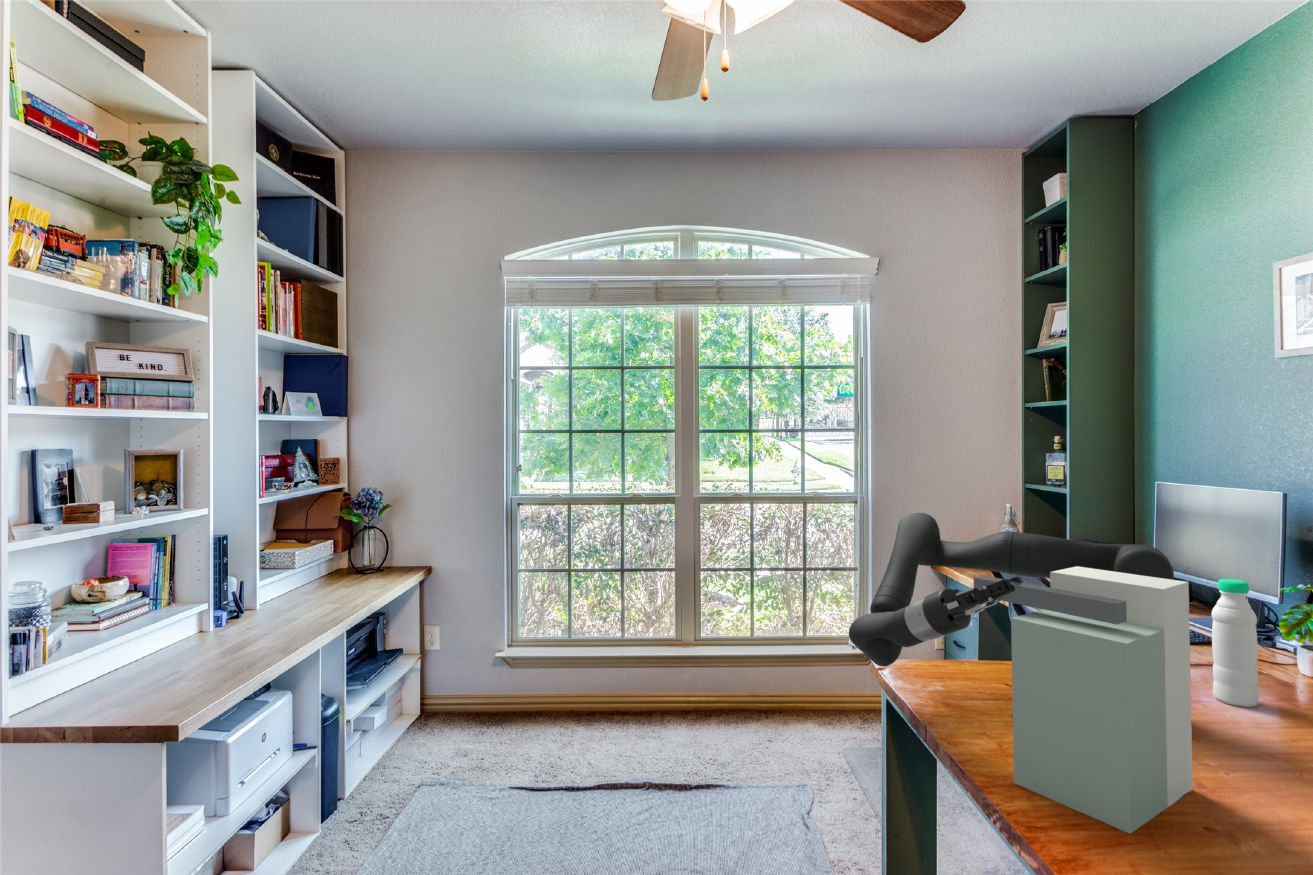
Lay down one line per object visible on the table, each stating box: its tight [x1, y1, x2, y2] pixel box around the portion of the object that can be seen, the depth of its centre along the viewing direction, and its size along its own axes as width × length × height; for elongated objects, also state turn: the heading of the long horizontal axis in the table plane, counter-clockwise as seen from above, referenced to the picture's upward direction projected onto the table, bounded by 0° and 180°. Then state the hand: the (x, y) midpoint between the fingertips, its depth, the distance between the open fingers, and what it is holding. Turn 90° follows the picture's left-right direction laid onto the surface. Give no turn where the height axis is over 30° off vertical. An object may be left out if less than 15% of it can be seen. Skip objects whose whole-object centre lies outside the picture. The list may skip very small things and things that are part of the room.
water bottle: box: [1211, 578, 1260, 708], centre depth 134 cm, size 7×7×25 cm
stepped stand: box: [1010, 566, 1194, 835], centre depth 101 cm, size 16×21×32 cm
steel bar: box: [973, 575, 1127, 624], centre depth 104 cm, size 22×3×3 cm, turn 32°
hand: (1015, 583), depth 108 cm, fingers closed on steel bar, 2 cm apart
